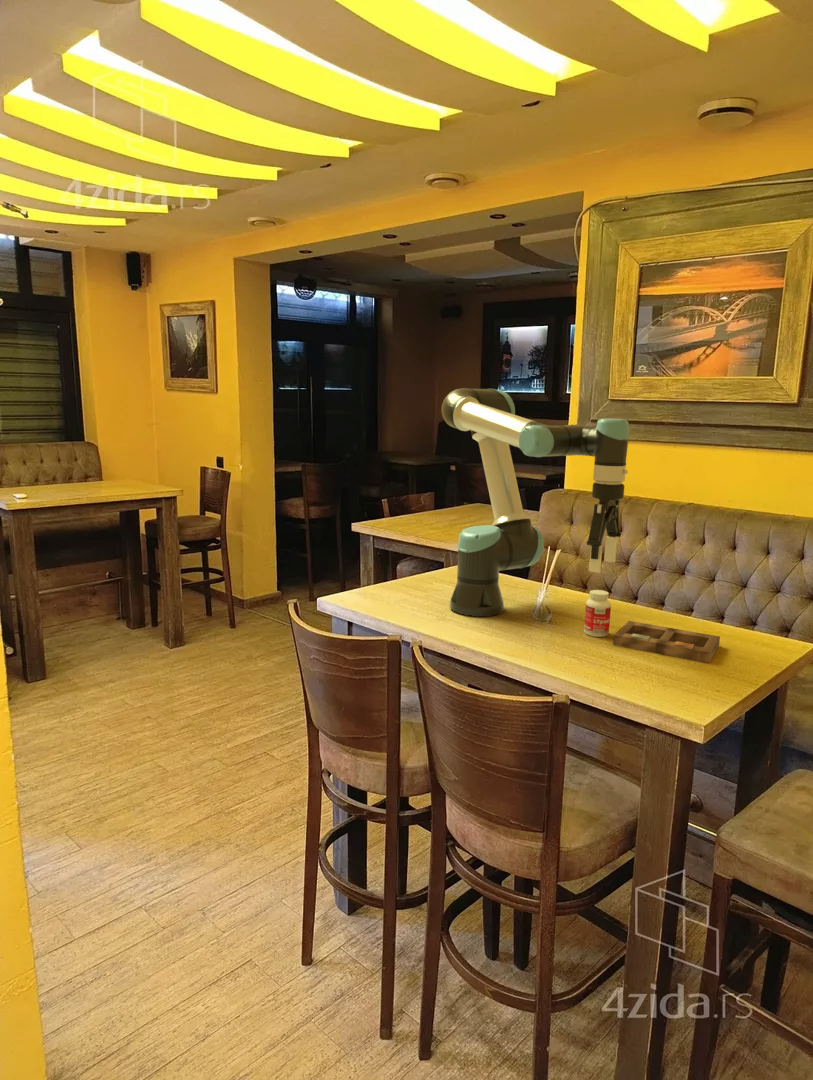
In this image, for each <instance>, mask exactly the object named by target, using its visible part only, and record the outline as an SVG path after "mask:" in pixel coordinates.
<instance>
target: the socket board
mask: <svg viewBox="0 0 813 1080" xmlns="http://www.w3.org/2000/svg"><path fill="white" fill-rule="evenodd" d="M612 640H613V641H612V642H613V643H612V645H613V646H617V647H624V648H629V649H633V650H639V651H644V652H649V653H655V654H659V655H664V656H670V657H674V658H675V657H676V658H681V659H686V660H691V661H696V662H702V663H707V664H710V663H711V662H712V661H713V657H714V656H715V655H716V652H717V651H718V650H719V647H720V641H721V635H720V636H719V635H714V634H708V633H703V632H702V633H701V632H697V631H692V630H691V631H690V630H685V629H679V628H674V627H667V626H661V625H655V624H651V623H643V622H638V621H631V620H628V621H626V623H625V624H623V626H622V627H620V629H619V630H617V631H616V632H615V633H614V634H613V639H612Z"/></svg>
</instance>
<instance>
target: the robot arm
mask: <svg viewBox="0 0 813 1080" xmlns="http://www.w3.org/2000/svg"><path fill="white" fill-rule="evenodd" d="M441 415H442V418H443V420H444V421H445V423H446V424H447V425H448V426H449V427H452V428H454V429H457V430H459V431H462V432H468V431H470V432H471V437H472V440H475V441H476V442H477V443H478V446H479V452H480V455H481V460H482V465H483V470H484V475H485V480H486V484H487V490H488V493H489V499H490V504H491V509H492V513H493V514H492V515H493V518H494V521H493V522H492V523H491V525H490V524H483V525H474V526H470V527H466V528H464V529H462V530H461V531H460V532H459V535H458V543H457V573H456V575H457V577H456V579H457V580H456V583H455V587H454V590H453V592H452V595H451V597H450V603H449V604H450V605H449V609H450V608H451V609H452V610H454V611H456V612H458V613H461V614H460V615H462V614H466V615H465V616H468V615H472V616H471V617H492V615H493V616H498V615H500V614H502V613H503V612H504V611H505V610H504V606H505V602H504V598H503V596H502V595H503V594H502V592H501V589H500V585H499V580H500V579H499V576H500V572H501V571H506V570H514V569H523V568H526V567H530V566H533V565H535V564H536V563H537V562H538V561H540V559H541V556H542V555H543V552H544V547H545V542H544V541H545V540H544V537H543V534H542V531H540V530H539V529H538V527H536V526H533V525H532V521H531V518H530V517H529V516H527V515H526V514H525V513H524V510H523V509H524V508H523V504H522V500H521V496H520V491H519V487H518V480H517V476H516V472H515V467H514V464H513V463H514V462H513V458H512V454H511V453H512V452H511V449H510V448H511V447H510V446H513V447H515V448H518V449H519V450H520V451H521V452H522V454H524V455H525V456H528V457H535V458H543V457H562V456H563V457H566V456H567V457H568V456H570V457H571V456H583V457H585V456H586V457H594V464H593V477H592V480H593V481H594V482H593V483H592V490H591V491H592V492H591V493H592V494H591V496H592V498H593V499H598V500H599V502H598V504H595V503H594V505H593V507H594V508H593V516H592V520H591V524H590V525H591V526H590V530H589V535H588V539H587V541H586V545H587V546H589V560H588V572H591V573H598V574H599V573H600V574H601V569H602V555H603V545H602V542H603V539H604V536H605V532H606V534H607V536H605V544H604V558H603V561H604V562H608V563H616V555H617V545H618V544H617V543H618V538H620V537H622V536H621V535H622V532H621V525H620V500H623V498H624V496H625V495H624V494H625V485H624V482H625V479H626V474H628V473H629V472H628V469H626V467H627V455H628V447H629V441H630V440H629V439H630V435H629V433H630V430H629V429H630V427H629V425H630V424H629V421H628V420H627V419H624V418H600V419H598V420H597V423H596V426H595V425H594V426H593V425H592V426H590V425H581V424H567V425H549V424H544V423H541V422H537V421H535V420H532V419H529V418H526V417H522V416H519V415H516V407H515V403H514V401H513V398H511V395H509V394H508V393H507V392H505V390H504V391H503V390H501V389H496V388H467V387H465V388H464V387H462V388H456V389H454V390H452V391H450V392H449V393H448V394H446V396H445V398H444V399H443V402H442V404H441ZM451 609H450V610H451ZM452 610H451V611H452ZM454 611H453V612H454ZM456 612H455V613H456ZM458 613H457V614H458ZM497 614H498V615H497Z"/></svg>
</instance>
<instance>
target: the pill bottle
mask: <svg viewBox="0 0 813 1080" xmlns="http://www.w3.org/2000/svg"><path fill="white" fill-rule="evenodd" d="M609 595H610V593H609V592H608V591H606V590H601V589H593V590H589V595H588V597H589V598H588V599H587V600H586V602H585V613H584V623H583V632H584V634H586V635H587V636H590V637H594V638H603V637H604V638H605V637H607V636H609V633H610V624H611V623H610V622H611V609H612V604H611V602H610V601H609V600H608V599H609Z"/></svg>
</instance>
